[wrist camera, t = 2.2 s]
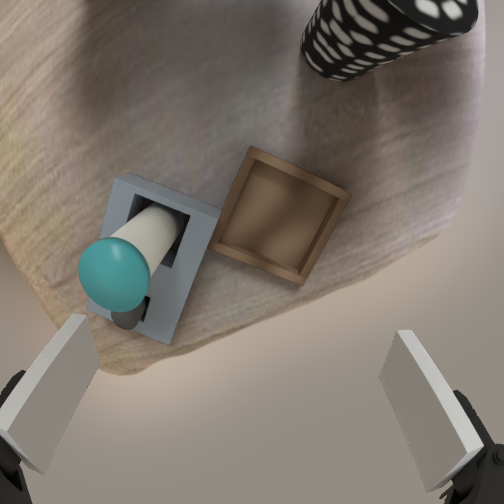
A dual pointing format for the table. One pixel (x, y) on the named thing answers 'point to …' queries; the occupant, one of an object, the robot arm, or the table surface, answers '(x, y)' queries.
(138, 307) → the plunger
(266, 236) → the tray
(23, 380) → the robot arm
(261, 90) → the table surface
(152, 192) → the housing
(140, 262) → the ball
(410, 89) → the table surface
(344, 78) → the spotted tube
